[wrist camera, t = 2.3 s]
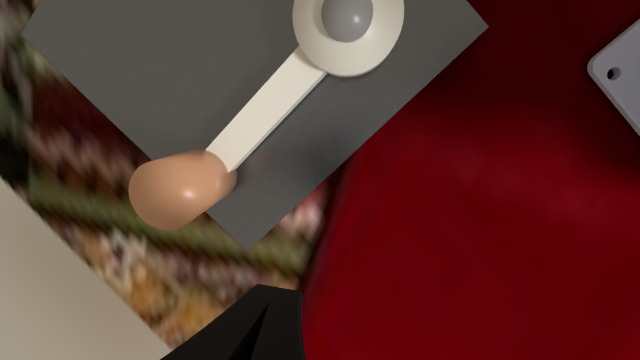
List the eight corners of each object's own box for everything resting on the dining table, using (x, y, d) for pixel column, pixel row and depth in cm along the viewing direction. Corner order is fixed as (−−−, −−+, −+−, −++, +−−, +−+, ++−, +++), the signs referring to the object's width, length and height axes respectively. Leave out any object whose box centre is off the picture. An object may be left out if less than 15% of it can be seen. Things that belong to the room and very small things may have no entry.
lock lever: (419, 25, 12) (447, -10, 8) (224, 219, 15) (181, 256, 11) (350, -53, 12) (348, -127, 8) (164, 161, 15) (100, 180, 11)
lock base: (479, 32, 13) (491, 25, 12) (247, 248, 17) (239, 258, 16) (220, -272, 12) (205, -313, 11) (28, 38, 16) (2, 33, 14)
